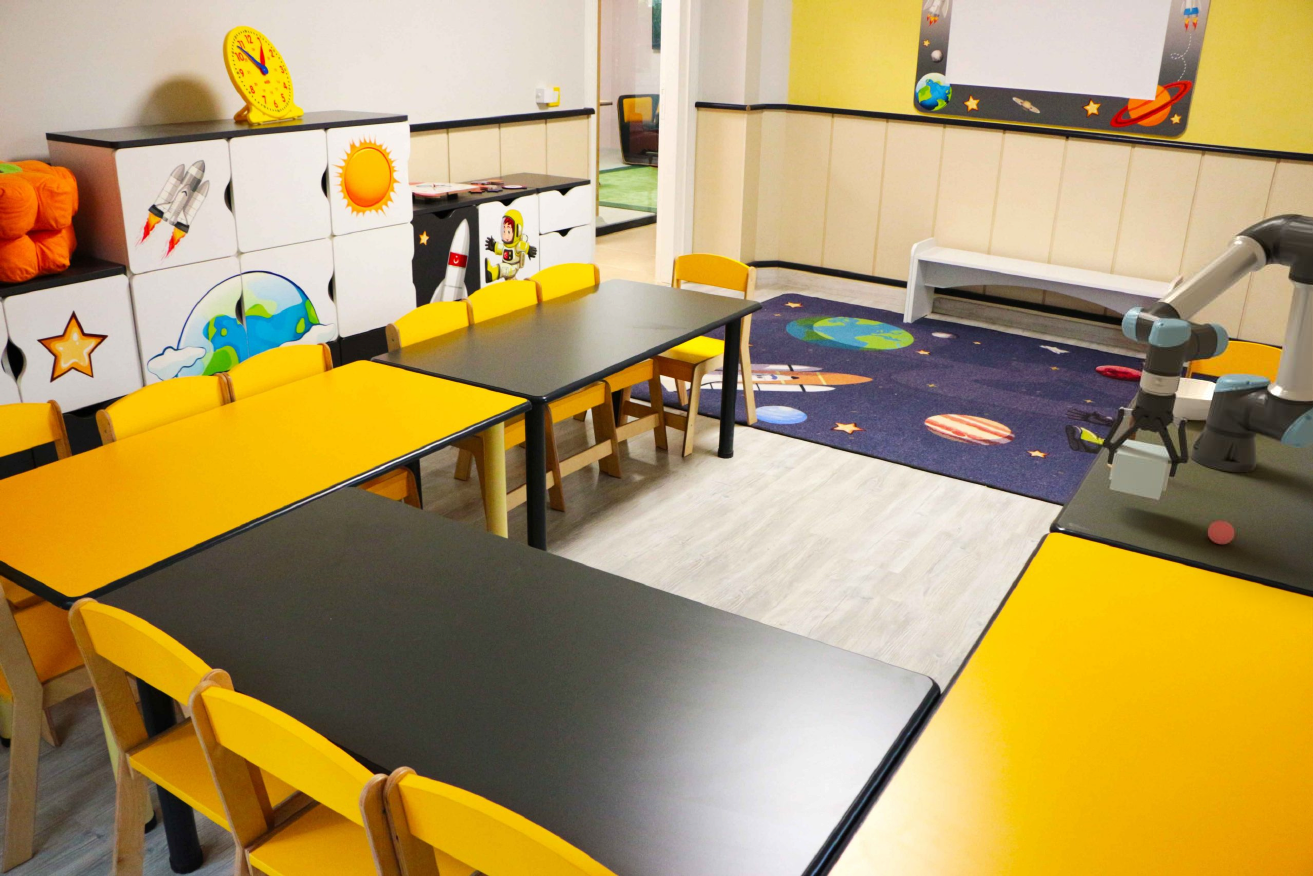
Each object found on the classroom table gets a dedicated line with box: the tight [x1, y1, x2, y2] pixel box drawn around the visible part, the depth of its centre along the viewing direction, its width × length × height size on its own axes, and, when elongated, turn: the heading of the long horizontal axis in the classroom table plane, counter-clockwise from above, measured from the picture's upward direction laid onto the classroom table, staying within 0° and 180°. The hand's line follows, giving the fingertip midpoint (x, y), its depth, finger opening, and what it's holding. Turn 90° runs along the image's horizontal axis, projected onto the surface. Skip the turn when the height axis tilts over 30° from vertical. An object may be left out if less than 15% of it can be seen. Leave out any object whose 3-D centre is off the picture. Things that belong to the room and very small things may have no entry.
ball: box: [1207, 520, 1235, 545], centre depth 218 cm, size 5×5×5 cm
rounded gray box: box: [1109, 439, 1171, 501], centre depth 228 cm, size 10×10×9 cm
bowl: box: [1173, 377, 1216, 421], centre depth 295 cm, size 21×21×9 cm
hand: (1137, 483), depth 230 cm, fingers closed on rounded gray box, 10 cm apart
